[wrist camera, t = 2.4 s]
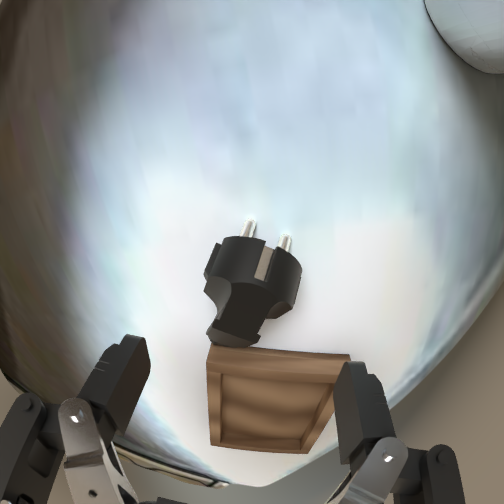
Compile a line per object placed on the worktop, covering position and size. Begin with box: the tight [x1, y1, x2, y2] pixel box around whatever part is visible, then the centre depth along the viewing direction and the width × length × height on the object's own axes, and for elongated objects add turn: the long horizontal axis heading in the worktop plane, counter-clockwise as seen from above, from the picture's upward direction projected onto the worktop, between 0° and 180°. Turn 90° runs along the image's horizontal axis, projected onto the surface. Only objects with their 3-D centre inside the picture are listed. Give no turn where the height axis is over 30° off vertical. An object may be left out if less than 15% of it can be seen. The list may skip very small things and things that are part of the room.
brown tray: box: [206, 343, 351, 454], centre depth 27 cm, size 17×12×2 cm
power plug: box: [204, 219, 302, 348], centre depth 20 cm, size 6×8×12 cm
